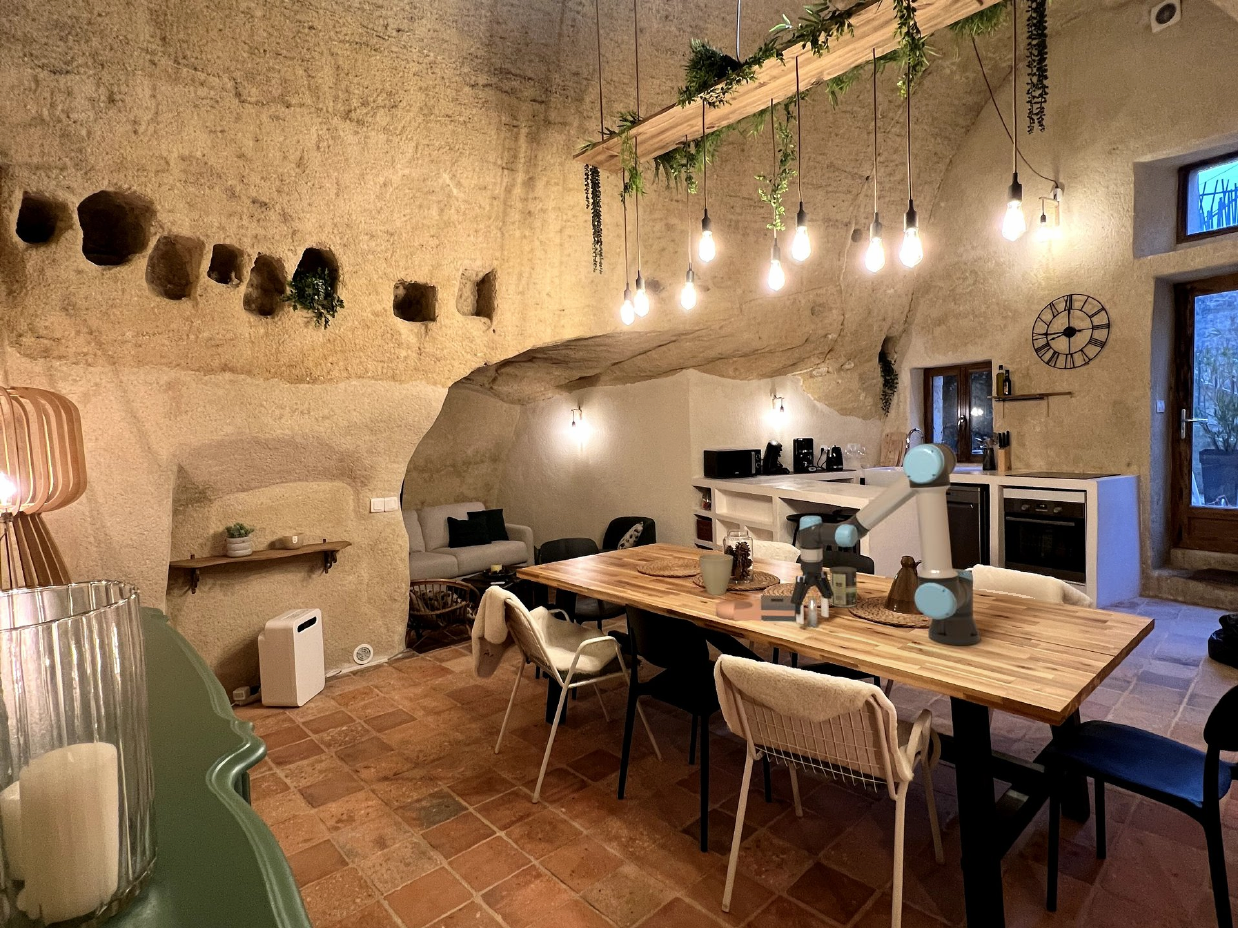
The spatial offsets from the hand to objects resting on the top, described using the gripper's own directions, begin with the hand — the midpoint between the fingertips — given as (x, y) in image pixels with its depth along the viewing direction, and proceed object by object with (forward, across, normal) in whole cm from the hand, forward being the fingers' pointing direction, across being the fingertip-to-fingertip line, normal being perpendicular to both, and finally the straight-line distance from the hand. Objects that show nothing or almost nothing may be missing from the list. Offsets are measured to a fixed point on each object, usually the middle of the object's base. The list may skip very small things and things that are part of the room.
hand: (812, 619), depth 246 cm
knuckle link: (+2, +5, -24) cm, 24 cm away
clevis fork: (+2, -2, -17) cm, 17 cm away
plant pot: (+3, -7, -59) cm, 60 cm away
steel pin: (+2, 0, 0) cm, 2 cm away
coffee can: (+3, -32, -13) cm, 35 cm away
